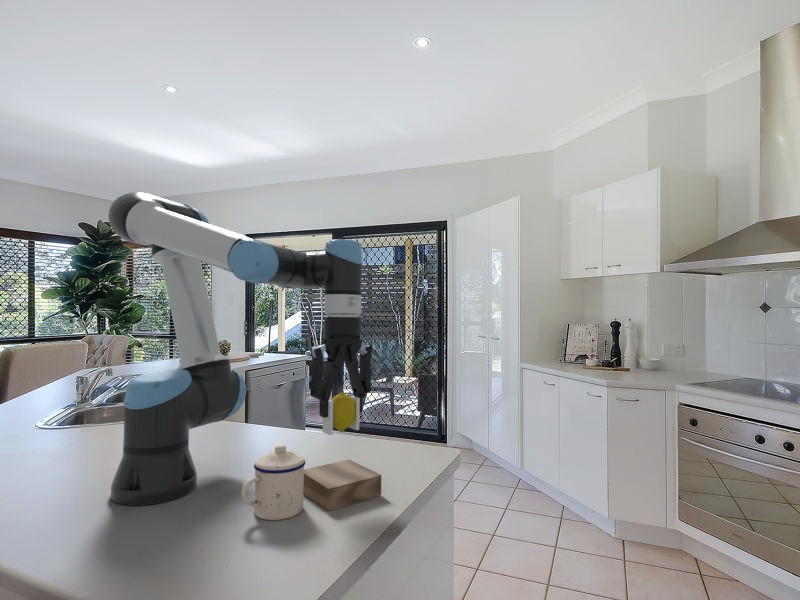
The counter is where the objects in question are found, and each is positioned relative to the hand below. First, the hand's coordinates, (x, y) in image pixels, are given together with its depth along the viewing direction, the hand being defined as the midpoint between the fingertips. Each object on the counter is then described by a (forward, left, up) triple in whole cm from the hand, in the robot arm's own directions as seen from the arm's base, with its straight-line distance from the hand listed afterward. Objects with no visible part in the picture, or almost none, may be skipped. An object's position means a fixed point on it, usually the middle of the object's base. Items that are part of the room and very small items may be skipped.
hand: (341, 430), depth 90 cm
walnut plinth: (0, 0, -12) cm, 12 cm away
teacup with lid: (-15, -1, -13) cm, 19 cm away
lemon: (0, 0, -1) cm, 1 cm away
